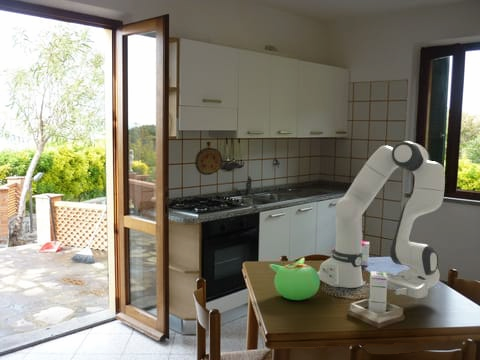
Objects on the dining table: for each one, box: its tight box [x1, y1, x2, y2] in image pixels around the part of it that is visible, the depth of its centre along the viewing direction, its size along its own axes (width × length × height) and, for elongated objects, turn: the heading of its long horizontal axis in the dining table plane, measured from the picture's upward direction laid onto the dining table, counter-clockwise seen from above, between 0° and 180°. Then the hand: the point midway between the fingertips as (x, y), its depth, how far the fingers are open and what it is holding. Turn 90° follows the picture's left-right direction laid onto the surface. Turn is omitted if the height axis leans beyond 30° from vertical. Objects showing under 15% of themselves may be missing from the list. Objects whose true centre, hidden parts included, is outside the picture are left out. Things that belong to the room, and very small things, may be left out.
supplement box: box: [361, 240, 370, 268], centre depth 230 cm, size 6×6×12 cm
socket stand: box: [347, 297, 406, 329], centre depth 166 cm, size 14×14×4 cm
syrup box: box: [368, 271, 388, 314], centre depth 165 cm, size 6×6×14 cm
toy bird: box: [268, 257, 321, 301], centre depth 181 cm, size 18×17×15 cm
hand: (384, 288), depth 167 cm, fingers open, 8 cm apart
